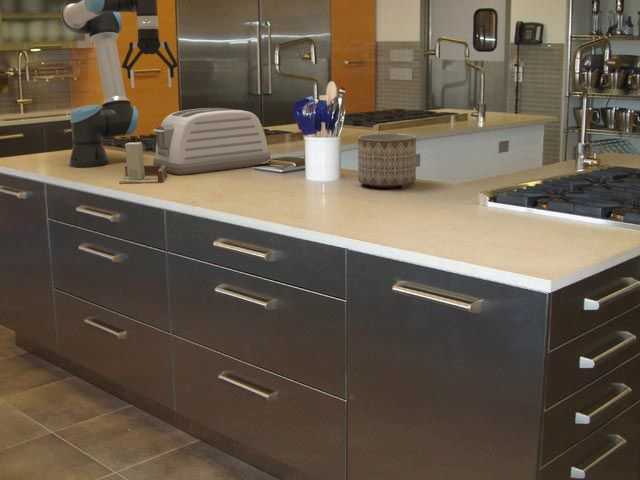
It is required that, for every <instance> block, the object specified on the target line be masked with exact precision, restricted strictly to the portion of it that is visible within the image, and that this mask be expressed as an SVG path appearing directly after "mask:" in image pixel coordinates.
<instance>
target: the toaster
mask: <svg viewBox="0 0 640 480" xmlns="http://www.w3.org/2000/svg"><path fill="white" fill-rule="evenodd" d="M152 131H153V132H156V133H155V134H156V144H155V157H153V161H152V162H153V164H152V165H166V167H167V174H168V173H169V174H173V175H176V176H188V175H195V174H204V173H210V172H211V173H212V172H217V171H226V170H234V169H236V170H237V169H244V168H250V167H252V168H253V167H256V166H255V165H258V164H260V163H262V162H264V161H267V160H269V159H271V152H269V151H268V143H267V138H266V135H265V131H264V128H263V125H262V123H261V120H260V119H259V117H258V116H257V115H256V114H254V113H253V112H251V111H247V110H242V109H235V108H224V107H205V108H204V107H203V108H193V109H185V110H179V111H175V112H172V113H170V114H169V115H167V116H165V118H164V119H163V121H162V122H161V125H158V126H156V128H155V129H152ZM271 160H272V159H271Z"/></svg>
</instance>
